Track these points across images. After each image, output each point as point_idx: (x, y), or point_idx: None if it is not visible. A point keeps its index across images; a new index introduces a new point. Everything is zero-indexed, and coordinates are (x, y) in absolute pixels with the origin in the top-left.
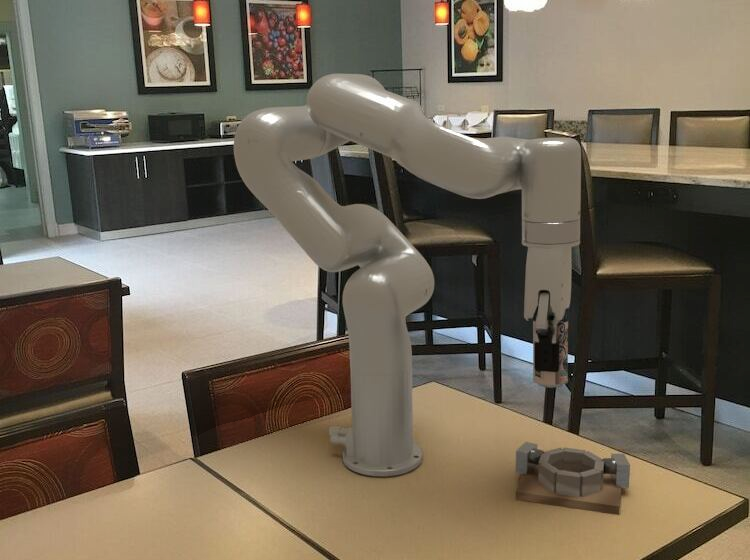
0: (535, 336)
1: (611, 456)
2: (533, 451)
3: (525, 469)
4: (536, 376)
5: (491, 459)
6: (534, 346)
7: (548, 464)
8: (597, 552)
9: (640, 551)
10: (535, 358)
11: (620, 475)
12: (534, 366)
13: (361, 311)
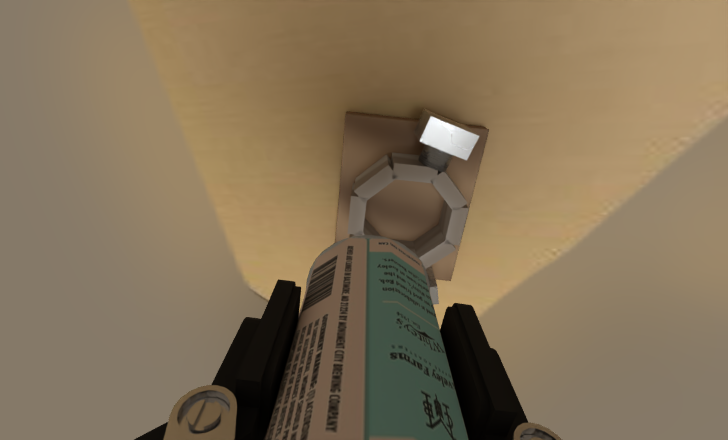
0: (166, 430)
1: (435, 283)
2: (434, 153)
3: (416, 130)
4: (328, 260)
5: (510, 48)
6: (246, 355)
7: (387, 181)
8: (226, 230)
9: (248, 278)
10: (265, 313)
11: None
12: (276, 284)
13: None
